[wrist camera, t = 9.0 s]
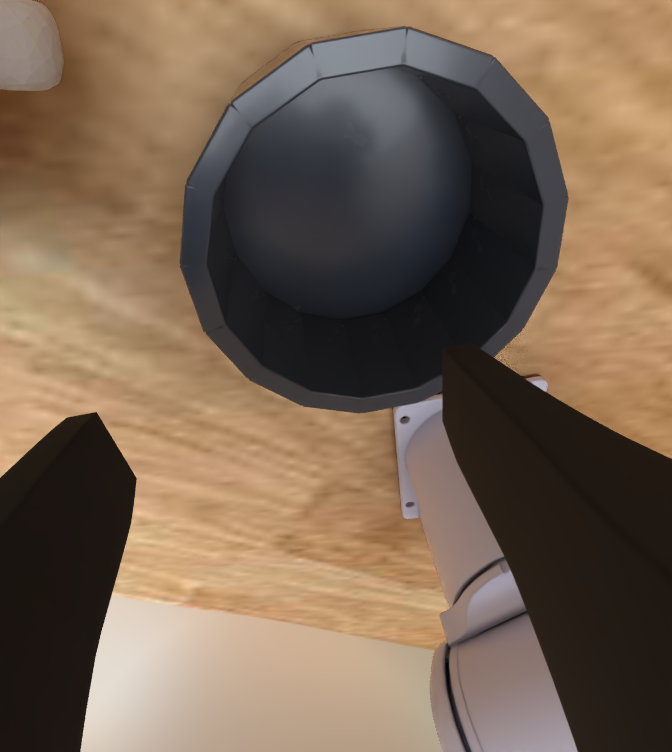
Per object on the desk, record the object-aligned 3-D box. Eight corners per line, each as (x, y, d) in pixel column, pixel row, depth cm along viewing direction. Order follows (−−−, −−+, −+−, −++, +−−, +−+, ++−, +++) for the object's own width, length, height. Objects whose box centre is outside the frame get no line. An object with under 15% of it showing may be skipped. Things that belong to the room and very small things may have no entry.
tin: (477, 304, 21) (539, 381, 16) (247, 345, 21) (241, 436, 16) (494, 7, 15) (603, -9, 10) (162, 64, 14) (110, 76, 10)
